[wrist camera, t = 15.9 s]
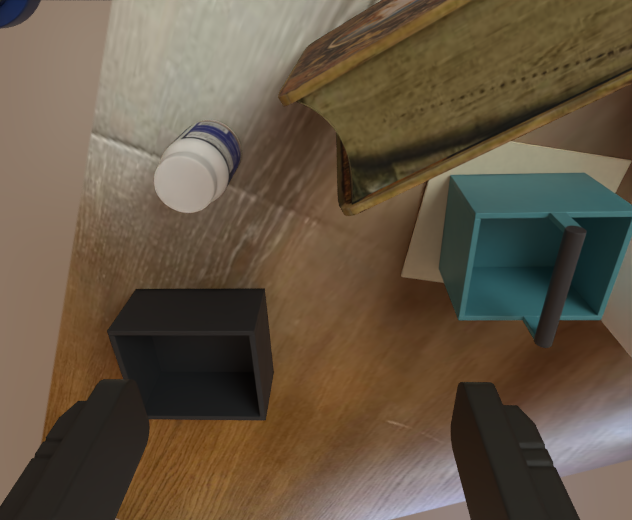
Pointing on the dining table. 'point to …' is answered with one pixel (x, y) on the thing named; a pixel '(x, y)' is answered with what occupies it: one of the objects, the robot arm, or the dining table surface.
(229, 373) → the charcoal bin
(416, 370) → the dining table surface
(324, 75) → the book
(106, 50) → the dining table surface
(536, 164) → the cream mat
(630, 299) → the canister
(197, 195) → the pill bottle
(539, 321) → the teal bin
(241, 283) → the dining table surface
